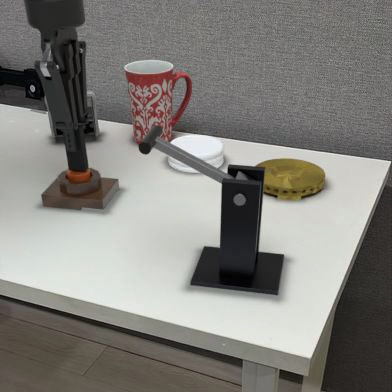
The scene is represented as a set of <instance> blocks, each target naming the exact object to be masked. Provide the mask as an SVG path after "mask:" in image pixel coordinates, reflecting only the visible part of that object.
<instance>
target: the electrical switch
mask: <svg viewBox="0 0 392 392" xmlns="http://www.w3.org/2000/svg"><path fill="white" fill-rule="evenodd" d="M44 103H45V105H46V110H47V111H46V112H47V117H48V122H49V128H50V134H51V137H52V138H53V139H55V143H64V136H63V130H62V129H59V128H55V127H54V125H53V121H52V118H51V114H50V111H49V107H48V104H47V100H46V97H45V96H44ZM87 108H88V113H87V115H84V118H89V123H88V124H82V125H83V129H84V137H85V142H86V141H97V137H98V136H100V127H99V120H98V119H99V117H98V109H97V100H96V94H95V92H93V91H92V90H87Z"/></svg>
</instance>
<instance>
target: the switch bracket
mask: <svg viewBox="0 0 392 392" xmlns="http://www.w3.org/2000/svg"><path fill="white" fill-rule="evenodd" d="M226 167H227V169H226V173H227V174H229V175H231V176H233V177H234V178H235V177H236V175H237V173H238V171H240V172H242V173H243V174H245V175H247V176H249V177H251V178H253V179H255V180H256V181H252V180H240V179H228V178H223V180H222V184H221V192H220V194H221V195H220V223H219V225H220V226H219V227H220V229H219V231H220V232H219V247H218V246H209V245H203V248H202V251H201V253H200V256H199V258H198V261H197V264H196V265H195V266H196V267H195V268H194V271H193V274H192V277H191V279H190V281H189V282H190V286H194V287H202V288H212V289H221V290H230V291H237V292H247V293H254V294H262V295H263V294H264V295H272V296H278V295H279V289H280V283H281V279H282V272H283V265H284V260H285V254H284V253H275V252H265V251H260V240H261V229H262V218H263V217H262V216H263V203H264V180H265V167H257V166H256V165H243V164H228V165H227V166H226Z"/></svg>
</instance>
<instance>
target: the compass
mask: <svg viewBox="0 0 392 392" xmlns="http://www.w3.org/2000/svg"><path fill="white" fill-rule="evenodd" d="M255 166H257V167H265V180H264V192H265V193H267V194H270V195H275V196H277V200H284V201H299V200H301V199H302V197H304V196H310V195H312V194H316V193H318V192H319V191H321V190H324V188H325V181H326V172H325V170H324V169H323V168H322V167H320V166H319V165H318V164H315V163H314V162H311V161H307V160H303V159H299V158H298V159H297V158H286V157H285V158H280V157H279V158H272V159H267V160H264V161H261V162H258V163H257V164H255Z"/></svg>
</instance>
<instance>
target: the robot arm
mask: <svg viewBox="0 0 392 392" xmlns="http://www.w3.org/2000/svg"><path fill="white" fill-rule="evenodd" d="M23 4H24V10H25V16H26V21H27V24H28V26H29V27H31V28H32V29H36V30H37V31H38V32H39V34H40V50H41V53H42V57H41V60H34V64H33V65H34V66H33V67H34V70H35V72H36V73H37V75H38V78H39V80H40V83H41V86H42V89H43V93H44V98H45V97H46V100H47V104H48V107H49V111H50V114H51V118H52V121H53V125H54V127H55V128H59V129H62V130H63V136H64V142H63V143H64V148H65V154H66V161H67V168H68V169H69V170H74V171H86V170H87V169H88V168H90V167H89V158H88V152H87V151H88V150H87V145H86V141H85V137H84V129H83V125H82V124H88V123H89V118H84V115H87V113H88V108H87V91H88V88H87V87H88V86H87V67H86V64H87V63H86V57H87V56H86V55H87V42H86V41H85V40H79V38H78V37H79V35H78V31H77V29H76V28H79V27H82V26H83V25H84V24H85V22H86V14H85V3H84V0H23Z"/></svg>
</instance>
